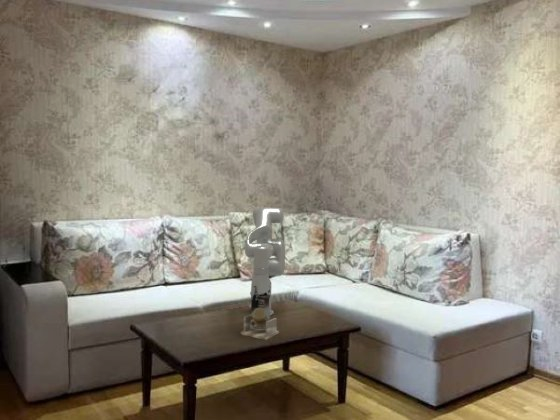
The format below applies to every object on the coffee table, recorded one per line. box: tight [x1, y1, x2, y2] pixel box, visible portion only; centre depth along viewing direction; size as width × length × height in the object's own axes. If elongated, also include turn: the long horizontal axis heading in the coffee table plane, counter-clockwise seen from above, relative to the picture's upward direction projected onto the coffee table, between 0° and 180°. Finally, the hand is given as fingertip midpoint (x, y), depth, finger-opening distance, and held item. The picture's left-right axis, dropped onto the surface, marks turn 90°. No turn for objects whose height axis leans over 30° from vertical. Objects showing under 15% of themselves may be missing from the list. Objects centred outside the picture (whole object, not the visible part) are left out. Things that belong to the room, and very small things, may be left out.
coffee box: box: [250, 294, 271, 330], centre depth 252 cm, size 9×6×16 cm
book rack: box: [240, 313, 280, 341], centre depth 252 cm, size 15×12×8 cm
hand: (260, 305), depth 251 cm, fingers closed on coffee box, 8 cm apart
